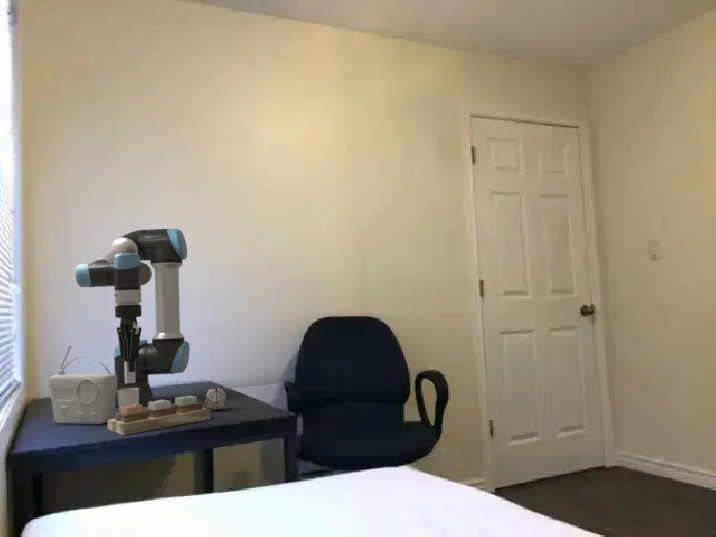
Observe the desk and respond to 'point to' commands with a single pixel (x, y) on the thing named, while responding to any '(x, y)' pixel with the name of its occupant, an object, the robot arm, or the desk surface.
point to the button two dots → (159, 404)
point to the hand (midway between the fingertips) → (130, 382)
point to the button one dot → (185, 400)
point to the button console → (157, 418)
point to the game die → (215, 398)
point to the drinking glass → (128, 396)
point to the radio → (83, 396)
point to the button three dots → (131, 409)
